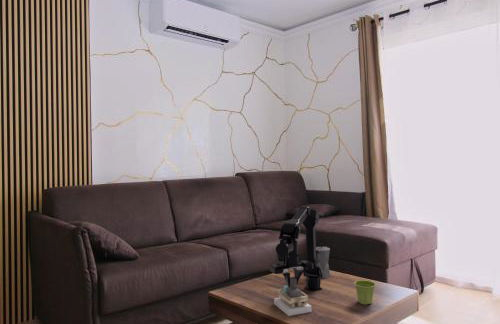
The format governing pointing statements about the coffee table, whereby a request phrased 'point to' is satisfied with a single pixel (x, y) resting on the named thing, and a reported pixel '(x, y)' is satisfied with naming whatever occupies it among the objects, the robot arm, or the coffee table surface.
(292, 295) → the charcoal block
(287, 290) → the teal block
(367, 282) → the plant pot
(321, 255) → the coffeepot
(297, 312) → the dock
